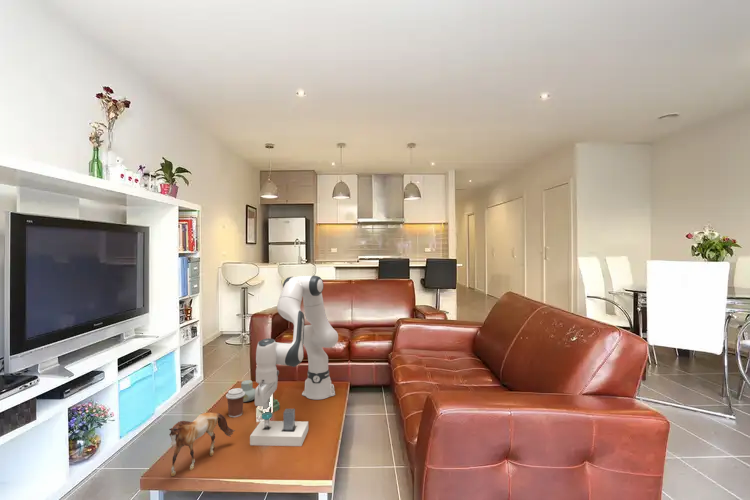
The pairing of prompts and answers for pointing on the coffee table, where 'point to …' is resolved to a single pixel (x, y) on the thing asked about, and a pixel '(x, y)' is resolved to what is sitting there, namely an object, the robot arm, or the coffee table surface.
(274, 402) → the decorative artifact
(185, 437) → the horse figurine
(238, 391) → the coffee cup
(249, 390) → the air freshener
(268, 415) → the lock pin
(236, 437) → the coffee table surface
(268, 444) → the socket block
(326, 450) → the coffee table surface
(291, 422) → the peg
